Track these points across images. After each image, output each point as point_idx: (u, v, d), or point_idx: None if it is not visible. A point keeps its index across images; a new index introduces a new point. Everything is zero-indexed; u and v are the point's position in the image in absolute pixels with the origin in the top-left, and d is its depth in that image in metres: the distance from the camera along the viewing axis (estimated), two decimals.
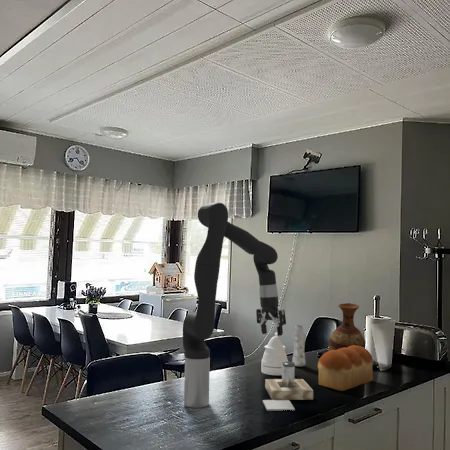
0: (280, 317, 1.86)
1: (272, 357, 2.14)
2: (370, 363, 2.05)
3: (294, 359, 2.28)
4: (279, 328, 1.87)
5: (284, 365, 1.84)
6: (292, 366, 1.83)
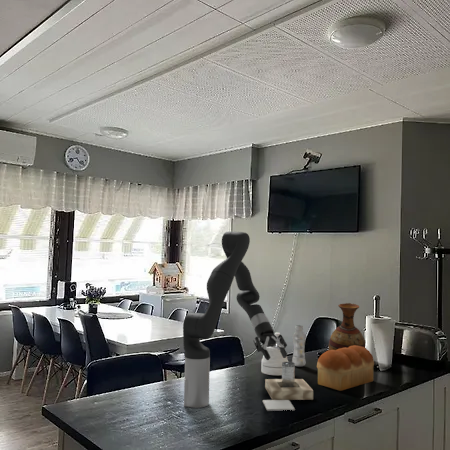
0: (283, 339, 2.00)
1: (272, 357, 2.14)
2: (371, 363, 2.04)
3: (294, 359, 2.28)
4: (284, 349, 1.96)
5: (284, 365, 1.84)
6: (292, 366, 1.83)
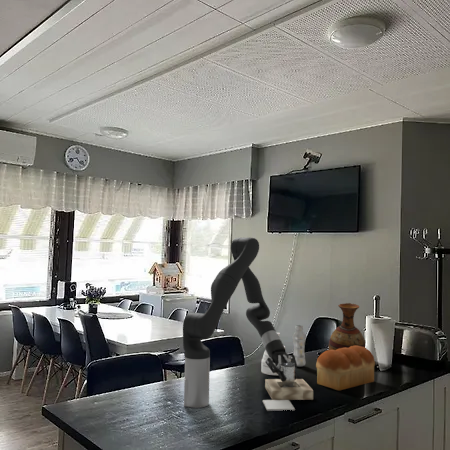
0: (294, 360, 1.91)
1: None
2: (371, 363, 2.04)
3: None
4: None
5: (284, 365, 1.84)
6: (292, 366, 1.83)
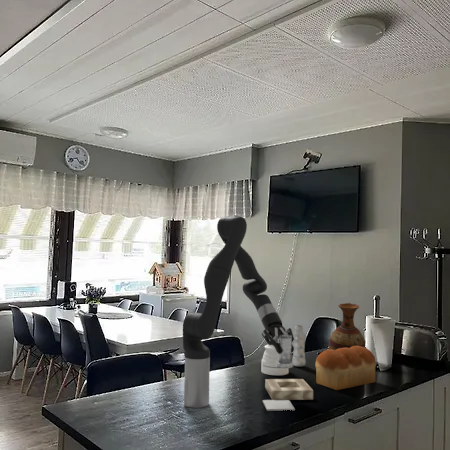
0: (291, 333, 1.87)
1: (272, 357, 2.14)
2: (372, 364, 2.03)
3: (294, 359, 2.28)
4: (291, 344, 1.83)
5: (281, 337, 1.80)
6: (289, 338, 1.79)
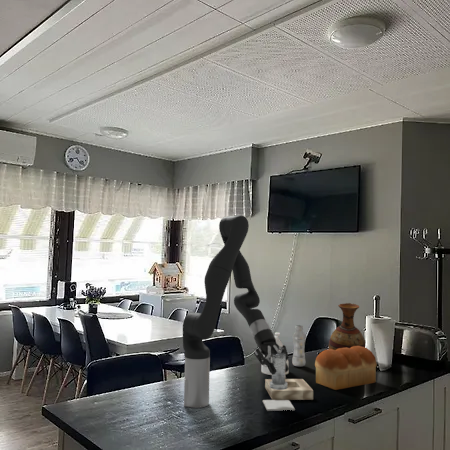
0: (285, 351, 1.76)
1: None
2: (372, 364, 2.02)
3: (294, 359, 2.28)
4: None
5: (274, 356, 1.69)
6: (283, 357, 1.68)
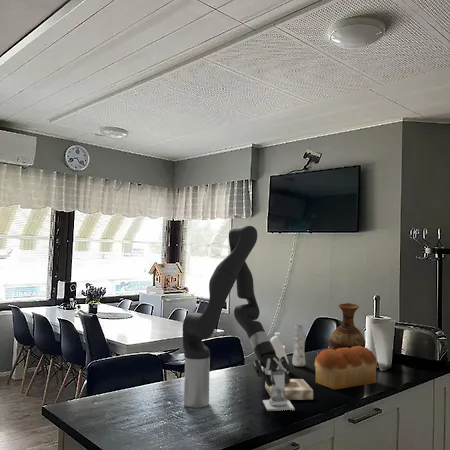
0: (286, 362, 1.76)
1: None
2: (373, 364, 2.02)
3: (294, 359, 2.28)
4: (287, 374, 1.73)
5: (273, 373, 1.69)
6: (282, 374, 1.68)
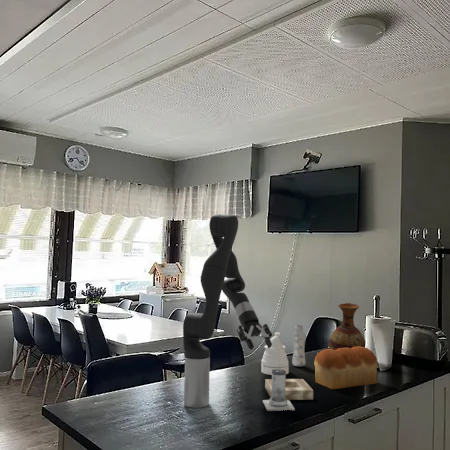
0: (268, 329, 1.91)
1: (272, 357, 2.14)
2: (373, 365, 2.01)
3: (294, 359, 2.28)
4: (269, 339, 1.87)
5: (274, 373, 1.68)
6: (283, 374, 1.68)
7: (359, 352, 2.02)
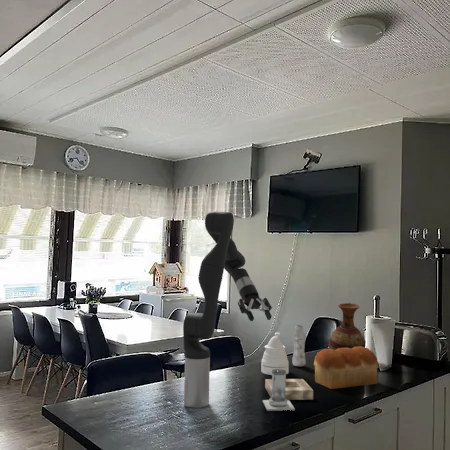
0: (268, 302, 1.98)
1: (272, 357, 2.14)
2: (373, 365, 2.01)
3: (294, 359, 2.28)
4: (269, 312, 1.94)
5: (274, 373, 1.69)
6: (283, 374, 1.68)
7: (359, 352, 2.02)
